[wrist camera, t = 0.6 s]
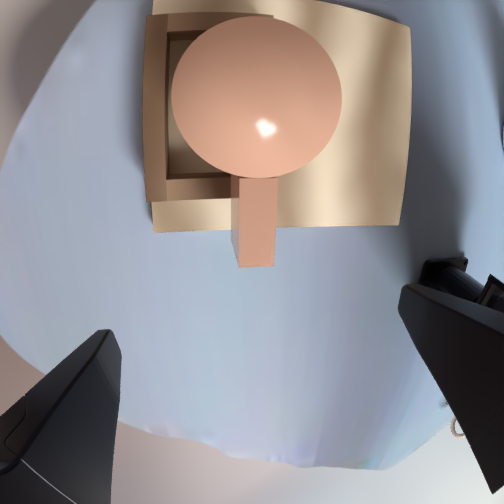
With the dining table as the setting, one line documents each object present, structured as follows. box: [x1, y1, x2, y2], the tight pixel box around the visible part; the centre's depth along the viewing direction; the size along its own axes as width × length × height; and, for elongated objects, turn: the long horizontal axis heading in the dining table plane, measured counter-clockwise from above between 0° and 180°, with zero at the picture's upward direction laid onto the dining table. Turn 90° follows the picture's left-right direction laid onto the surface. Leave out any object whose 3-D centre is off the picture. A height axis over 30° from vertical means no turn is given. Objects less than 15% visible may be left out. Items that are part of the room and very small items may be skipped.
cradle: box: [143, 0, 412, 233], centre depth 17 cm, size 18×16×3 cm
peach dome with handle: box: [171, 16, 342, 268], centre depth 15 cm, size 11×7×6 cm, turn 179°
